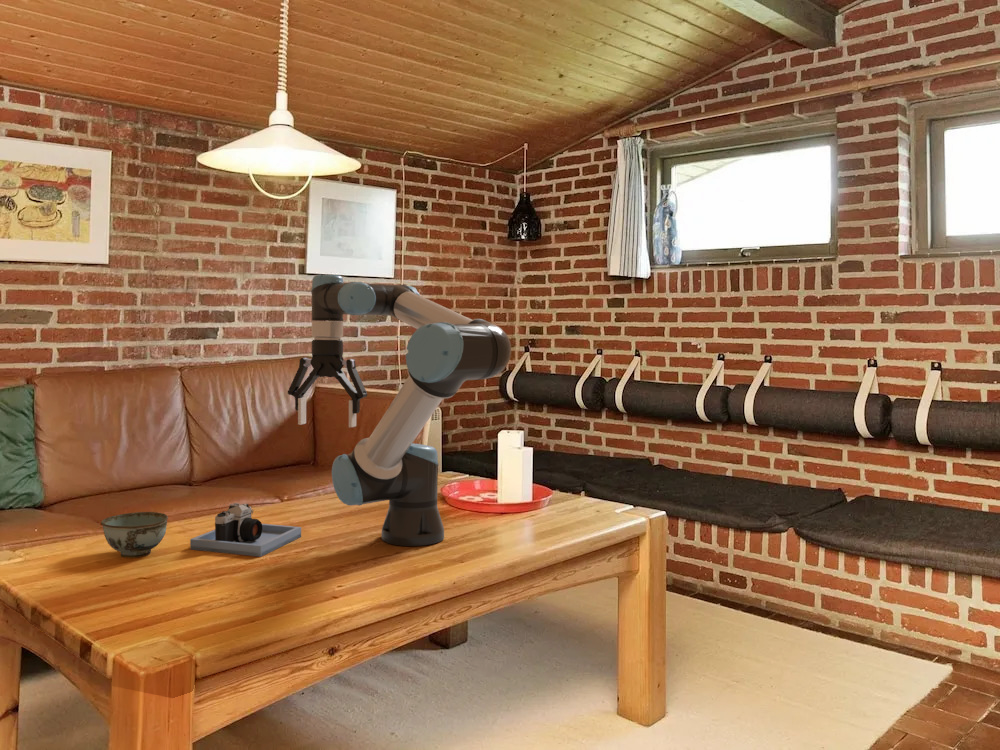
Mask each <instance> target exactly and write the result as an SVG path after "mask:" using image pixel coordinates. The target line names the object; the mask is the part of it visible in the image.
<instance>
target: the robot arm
mask: <svg viewBox="0 0 1000 750" xmlns="http://www.w3.org/2000/svg"><path fill="white" fill-rule="evenodd" d="M311 282H312V284H311V290H310V294H311V337H312V338H314V339H312V341H311V356H312V357H311V358H309V357H301V358H300V359H299V363H298V364H299V365H298V368H297V370H296V373H295V375H294V377H293V379H292V381H291V383H290V386H289V388H288V390H287V394H288V395H289V396H293V397H294V399H295V400H294V410H295V411H297V425H300V426H301V425H305V424H307V397H306V396H305V395H306V393H307V392H308V391H309V389H310V388H311V386H313V384H314V383H315V382H316V380H317V379H318V378H324V377H325V378H326V377H327V378H335V379H336V380H337V381H338V382H339V384H340V385H341V386H342V388H343V389H344V391H345V392H346V393H347V394H348V396H349V397H350V398H351V399H349V400H348V428H355V427H357V414H359V413H360V412H361V409H360V408H361V405H360V403H361V400H362V399H364V398H367V397H368V392H367V390H366V388H365V386H364V384H363V381H362V379H361V375H359V372H358V370H357V367H356V365H357V364H356V360H355V359H354V358H350V359H348V358H347V360H346V359H345V360H344V358H343V357H344V341H343V340H342V338H343V337H344V315H346V316H349V315H350V316H386V317H387V316H390V317H392V318H395V319H396V320H398V321H399V322H400V321H401V322H403V324H404V323H405V324H406V325H408V326H410V327H412V328H414V329H416V330H415V331H414V332H413V333H412V334H411V337H410V338H409V339H408V342H407V345H406V350H407V353H405V362H406V367H407V369H406V370H407V374H408V377H407V378H406V380H405V382H404V383H403V385H402V386H401V387H400V389H399V391H398V392H397V394H396V396H395V397H394V398H393V400H392V402H391V403H390V405H389V406H388V408H387V409H386V411H385V412H384V414H383V415H382V417H381V418H380V420H379V422H378V424H377V425H375V426H376V427H375V428H374V429H373V431H372V433H371V434H370V436H369V437H366V438H362V439H360V441H358V442H357V443H356V445H355V446H354V448H353V450H352V451H351V452H350V453H348V454H346V453H343V454H342V455H338V456H336V457H335V459H334V460H333V463H332V465H331V466H332V467H331V480H332V486H333V489H334V491H335V492H334V493H335V494H336V496H337V497H338V500H340V502H342V503H343V504H344V505H347V506H362V505H368V504H373V503H379V502H384V501H388V509H387V512H386V515H385V518H384V522H383V525H382V527H381V540H382V541H383V542H384V543H386V544H389V545H395V546H405V547H419V546H420V547H421V546H429V545H434V544H437V543H440V542H442V541H443V540H444V539H445V528H444V525H443V521H442V517H441V515H440V510H439V507H438V480H439V479H438V478H439V477H438V476H439V474H438V472H439V471H438V470H439V460H438V456H439V455H438V451H437V449H436V448H435V447H434V446H432V445H426V444H422V443H421V444H420V443H414V442H415V440H416V438H417V437H418V435H419V434H420V432H421V431H422V430H423V428H424V427H425V425H426V424H427V423H428V421H429V419H431V417H432V416H433V414H434V413H435V411H436V410H437V408H438V406H439V405H440V404H441V403H442V401H443V400H444V399H450V398H452V397H453V396H455V394H457V392H458V391H459V390H460V388H461V387H462V385H463V384H464V383H465V382H466V381H476V380H487V379H491V378H494V377H495V376H497V375H499V374H501V373H502V372H503V371H504V370H505V369H506V367H507V365H508V364H509V362H510V359H511V356H512V343H511V341H510V338H509V336H508V334H507V333H506V332H505V331H504V330H503V329H502V328H501V327H500V326H498V325H496V324H494V323H492V322H489V321H487V320H485V319H483V318H474V319H472V318H470V317H467V316H464V315H462V314H461V313H459V312H456V311H454V310H452V309H450V308H448V307H445V306H443V305H441V304H439V303H437V302H434V301H433V300H430V299H428V298H426V297H424V296H421V295H420V292H419V291H418V289H417V288H416V287H415V286H411V285H405V284H383V283H382V284H381V283H367V282H362V281H350V282H344V278H343V277H342V276H341V275H335V274H316V275H314V276H313V277H312V281H311ZM310 366H311V367H312V368H313V369H312V370H311V371H310V373H309V375H308V376H307V378H306V379H305V380H304V378H305V375H306V374H307V372H308V369H309V367H310ZM343 367H345V369H346V370H347V373H348V376H349V378H350V380H349V379H348V377H347V376H346V374H345V372H344V371H343V369H342V368H343ZM303 380H304V381H303ZM302 382H303V383H302ZM351 382H352V383H351Z"/></svg>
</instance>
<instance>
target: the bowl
mask: <svg viewBox="0 0 1000 750" xmlns="http://www.w3.org/2000/svg"><path fill="white" fill-rule="evenodd" d="M168 519H169V516H168V515H167V514H165V513H164V512H163V513H162V512H158V511H157V512H156V511H136V512H128V513H122V514H117V515H112V516H108V517H105V518H104V519H102V520H101V521H100V523H101V526H102V529H103V534H104V537H105V541H106V542H107V544H108V545H109V546H110V547H111V548H112V549H113V550H115V551H117V552H120V556H121V557H122V558H127V559H128V558H130V559H133V558H141V557H142V558H143V557H146V556H149V555H150V554H151V553H152V550H153V549H155V547H157V546H158V545H159V544H160V543H161V542H162V540H163V538H165V535H166V531H167V525H168Z"/></svg>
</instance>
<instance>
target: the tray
mask: <svg viewBox="0 0 1000 750" xmlns="http://www.w3.org/2000/svg"><path fill="white" fill-rule="evenodd" d="M301 537H302V527H301V526H292V525H281V524H273V523H272V524H271V523H270V524H269V523H262V534H261V536H260V538H259V539H257V540H255V541H250V540H249V541H243V542H228V541H218V540H215V529H213V530H210V531H208V532H205V533H202V534H199V535H197V536H195V537H193V538H190V539H189V540H190V544H189V545H190V546H189V547H190V550H191V551H192V550H193V551H199V552H200V551H201V552H210V553H211V552H212V553H219V554H220V553H221V554H230V555H231V554H232V555H241V556H250V557H260V558H261V557H263V556H265V555H267V554H269V553H271V552H273V551H275V550H277V549H279V548H281V547H284V546H286V545H288V544H290V543H292V542H294V541H297V540H298V539H300V538H301Z"/></svg>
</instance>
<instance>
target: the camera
mask: <svg viewBox="0 0 1000 750" xmlns="http://www.w3.org/2000/svg"><path fill="white" fill-rule="evenodd" d="M228 507H229V508H228V509H227V510H225V511H224V510H223V511H222V512H219V513H218V514H217V515H216V516H214V517H215V518H214V526H215V527H214V530H215V540H218V541H228V542H243V541H249V540H250V541H255V540H257V539H259V538H260V536H261V534H262V524H263V523H262V522H261V521H260V520H259V519H257V518H252V515H253V514H254V509H252V506H249V503H241V504H240V503H239V502H237V503H236V502H233V503H230V504H229V506H228Z"/></svg>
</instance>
